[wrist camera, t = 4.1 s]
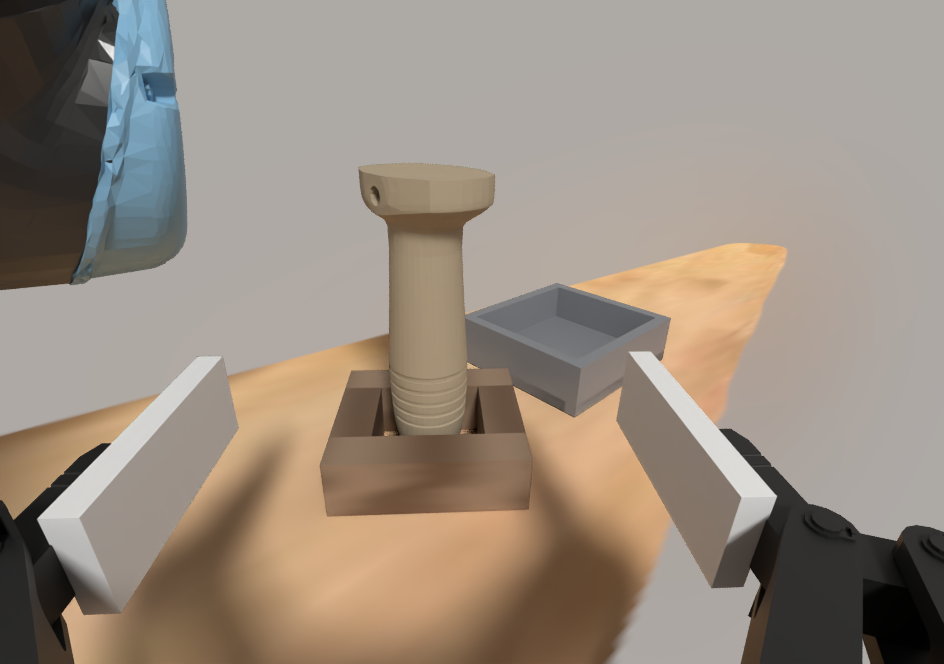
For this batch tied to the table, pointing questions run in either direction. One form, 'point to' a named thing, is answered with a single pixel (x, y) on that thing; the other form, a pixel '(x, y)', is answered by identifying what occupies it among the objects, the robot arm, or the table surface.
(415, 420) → the handle
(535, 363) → the tray
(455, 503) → the collar
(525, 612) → the table surface
